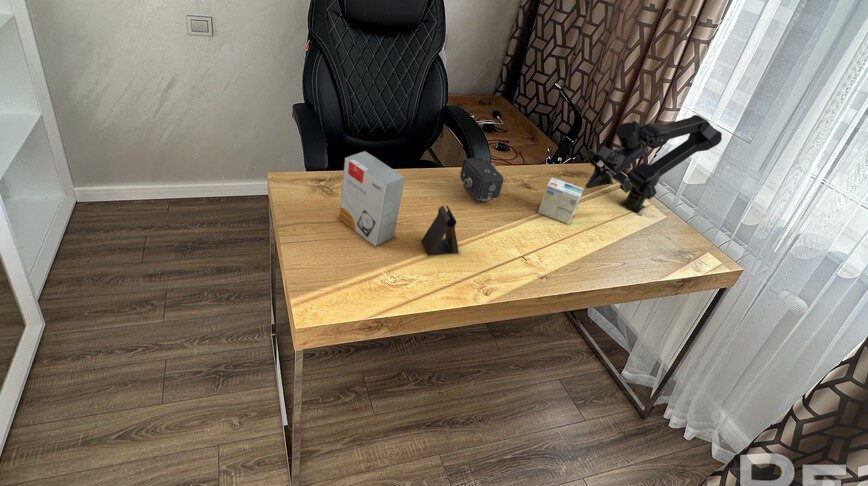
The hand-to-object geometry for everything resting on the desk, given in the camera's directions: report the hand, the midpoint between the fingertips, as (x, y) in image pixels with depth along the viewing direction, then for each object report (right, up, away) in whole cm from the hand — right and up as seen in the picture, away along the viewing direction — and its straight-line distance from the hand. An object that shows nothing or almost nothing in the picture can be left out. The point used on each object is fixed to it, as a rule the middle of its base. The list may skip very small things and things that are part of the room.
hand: (586, 187), depth 163 cm
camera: (-35, -2, +4) cm, 35 cm away
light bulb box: (-9, -9, +2) cm, 13 cm away
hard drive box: (-68, -13, -20) cm, 72 cm away
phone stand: (-48, -18, -22) cm, 56 cm away
